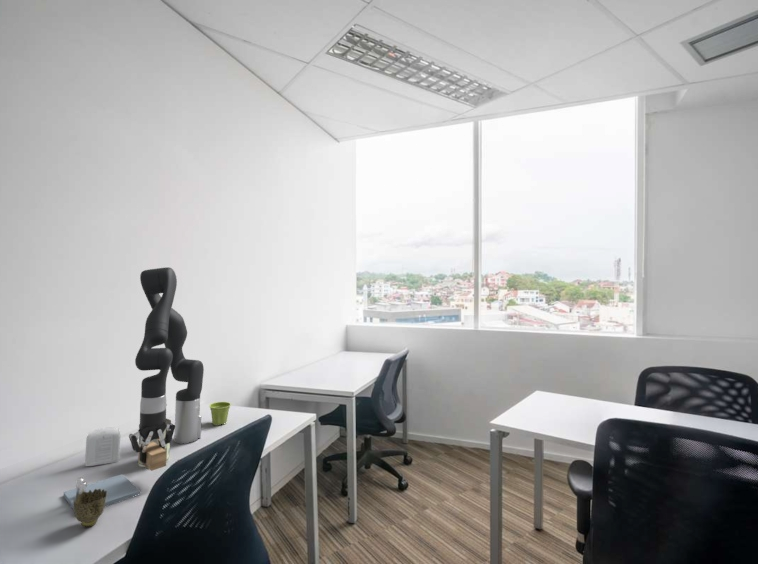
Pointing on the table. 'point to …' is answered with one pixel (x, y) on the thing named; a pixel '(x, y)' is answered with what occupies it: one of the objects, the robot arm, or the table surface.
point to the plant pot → (219, 412)
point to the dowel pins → (80, 486)
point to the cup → (89, 506)
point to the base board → (108, 490)
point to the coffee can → (167, 446)
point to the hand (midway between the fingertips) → (152, 459)
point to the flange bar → (154, 456)
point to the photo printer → (102, 446)
